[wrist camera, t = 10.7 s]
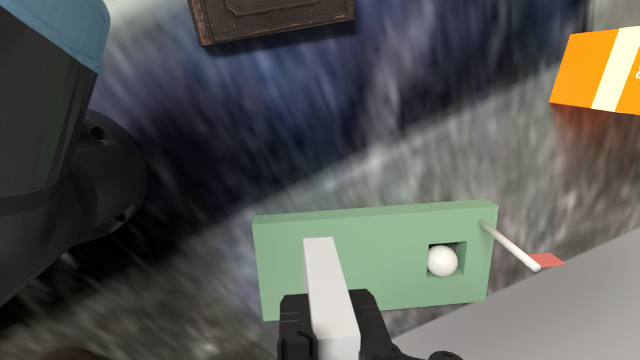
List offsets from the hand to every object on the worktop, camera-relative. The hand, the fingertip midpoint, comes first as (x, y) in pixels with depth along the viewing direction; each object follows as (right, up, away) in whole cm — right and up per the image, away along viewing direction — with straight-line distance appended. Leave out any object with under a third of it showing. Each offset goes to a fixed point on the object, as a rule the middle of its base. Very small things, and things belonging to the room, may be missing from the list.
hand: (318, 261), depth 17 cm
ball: (+16, -6, +26) cm, 31 cm away
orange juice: (+32, +17, +22) cm, 43 cm away
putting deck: (+7, -6, +28) cm, 29 cm away
